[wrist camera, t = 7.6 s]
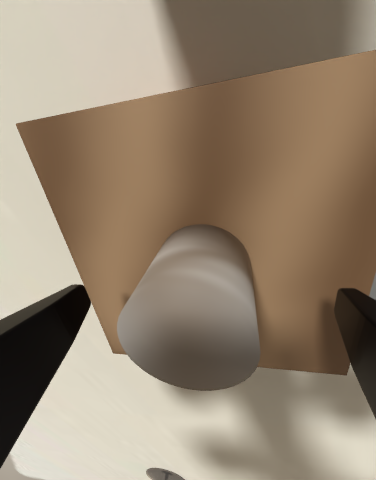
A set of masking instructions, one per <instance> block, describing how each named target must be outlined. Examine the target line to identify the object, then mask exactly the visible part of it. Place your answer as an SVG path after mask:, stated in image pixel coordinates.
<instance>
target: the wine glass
mask: <svg viewBox="0 0 376 480" xmlns="http://www.w3.org/2000/svg"><path fill="white" fill-rule="evenodd" d="M146 474H147V476H148V477H149V478H150V479H152V480H184V479H183V478H182V477H180V476H179V475H177V474H175V473H173V472H170V471H167V470H164V469H159V468H150V469H148V470H147V471H146Z"/></svg>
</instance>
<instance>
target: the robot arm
mask: <svg viewBox="0 0 376 480" xmlns="http://www.w3.org/2000/svg"><path fill="white" fill-rule="evenodd" d="M90 305H91V300H90V298H89V295H88V293H87V291H86V288H85V287H84V286H83V285H71V286H69V287H67V288H65V289H63V290H61V291H59V292H57V293H55V294H52V295H50V296H48V297H46V298H44V299H42V300H40V301H38V302H36V303H34V304H32V305H30V306H28V307H26V308H24V309H22V310H20V311H18V312H16V313H14V314H12V315H9V316H7V317H5V318H3V319H1V320H0V468H1V466H2V465H3V463H4V461H5V460H6V458H7V456H8V454H9V453H10V451H11V449H12V447H13V446H14V444H15V442H16V441H17V439H18V437H19V435H20V434H21V432H22V430H23V428H24V427H25V425H26V423H27V422H28V420H29V418H30V416H31V415H32V413H33V411H34V410H35V408H36V406H37V404H38V403H39V401H40V399H41V397H42V396H43V394H44V392H45V391H46V389H47V387H48V385H49V384H50V382H51V380H52V378H53V377H54V375H55V373H56V372H57V370H58V368H59V366H60V365H61V363H62V361H63V359H64V358H65V356H66V354H67V353H68V351H69V349H70V347H71V345H72V344H73V342H74V340H75V338H76V336H77V334H78V331H79V329H80V327H81V325H82V323H83V321H84V319H85V317H86V314H87V312H88V310H89V308H90ZM334 315H335V318H336V321H337V324H338V327H339V330H340V333H341V336H342V339H343V342H344V345H345V348H346V351H347V354H348V357H349V360H350V363H351V365H352V368H353V370H354V372H355V375H356V377H357V379H358V381H359V383H360V386H361V388H362V390H363V392H364V394H365V396H366V399H367V401H368V403H369V405H370V407H371V409H372V412H373V414H374V416H375V418H376V300H375V299H373V298H371V297H370V296H368V295H366V294H364V293H363V292H361V291H359V290H358V289H355V288H340V289H338V291H337V296H336V301H335V306H334Z"/></svg>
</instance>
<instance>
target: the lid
mask: <svg viewBox="0 0 376 480" xmlns="http://www.w3.org/2000/svg"><path fill="white" fill-rule="evenodd" d="M16 126H17V128H18V131H19V133H20V136H21V138H22V140H23V143H24V145H25V147H26V150H27V152H28V154H29V157H30V159H31V161H32V164H33V166H34V168H35V171H36V173H37V175H38V178H39V180H40V182H41V185H42V187H43V190H44V192H45V194H46V197H47V199H48V201H49V204H50V206H51V208H52V211H53V213H54V215H55V218H56V220H57V222H58V225H59V227H60V229H61V232H62V234H63V237H64V239H65V241H66V244H67V246H68V248H69V251H70V253H71V255H72V258H73V260H74V262H75V265H76V267H77V269H78V272H79V274H80V276H81V279H82V281H83V284H84V286H85V288H86V291H87V293H88V295H89V298H90V300H91V302H92V305H93V307H94V309H95V312H96V314H97V316H98V319H99V321H100V323H101V326H102V328H103V331H104V333H105V335H106V338H107V340H108V342H109V345H110V347H111V349H112V352H113V353H115V354H126V355H128V356H129V357H130V359H131V360H132V361H133V362H134V363H135V364H136V365H138V366H139V367H140V368H141V369H142V370H144V371H145V372H147V373H148V374H150V375H152V376H153V377H155V378H157V379H159V380H161V381H163V382H166V383H168V384H171V385H174V386H177V387H181V388H186V389H192V390H201V391H211V390H220V389H226V388H229V387H232V386H235V385H237V384H239V383H241V382H243V381H245V380H246V379H247V378H248V377H250V376H251V374H252V373H253V372H254V371H255V369H256V368H257V367H264V368H274V369H285V370H295V371H306V372H317V373H327V374H338V375H347V372H348V369H349V365H350V360H349V357H348V354H347V351H346V348H345V345H344V342H343V339H342V336H341V333H340V330H339V327H338V324H337V321H336V318H335V315H334V306H335V301H336V296H337V291H338V289H340V288H355V289H358V290H359V291H361V292H363V293H364V294H366V295H368V296H369V295H370V291H371V287H372V284H373V280H374V277H375V273H376V50H372V51H368V52H363V53H358V54H353V55H348V56H343V57H338V58H333V59H329V60H324V61H319V62H314V63H309V64H304V65H299V66H295V67H290V68H285V69H280V70H275V71H270V72H265V73H260V74H256V75H251V76H246V77H241V78H236V79H231V80H226V81H221V82H217V83H212V84H207V85H202V86H197V87H192V88H187V89H183V90H178V91H173V92H168V93H163V94H158V95H153V96H148V97H144V98H139V99H134V100H129V101H124V102H119V103H114V104H110V105H105V106H100V107H95V108H90V109H85V110H80V111H75V112H71V113H66V114H61V115H56V116H51V117H46V118H41V119H37V120H32V121H27V122H22V123H17V124H16Z"/></svg>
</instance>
